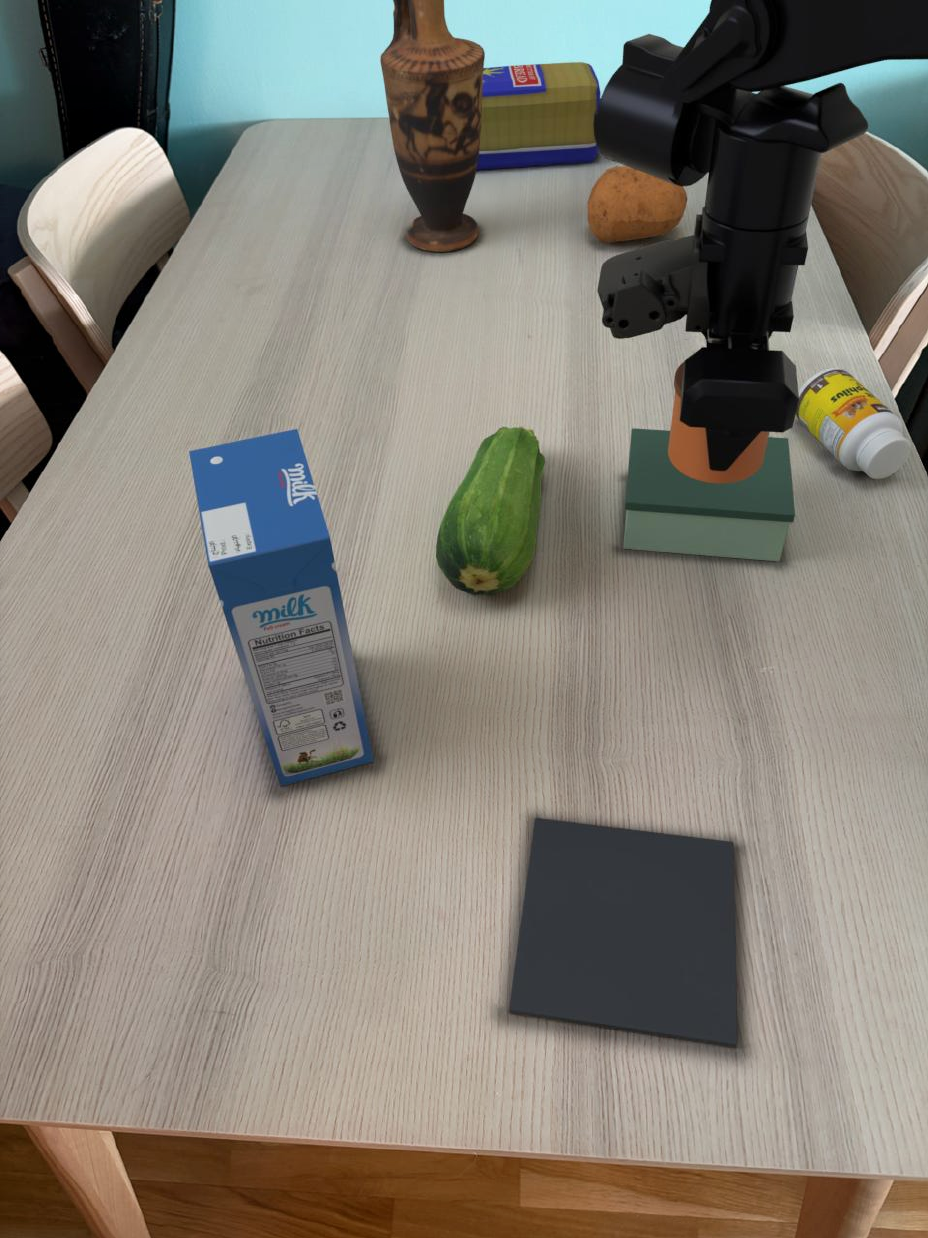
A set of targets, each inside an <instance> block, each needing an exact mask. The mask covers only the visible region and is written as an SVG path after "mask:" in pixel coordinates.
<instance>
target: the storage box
mask: <svg viewBox="0 0 928 1238" xmlns="http://www.w3.org/2000/svg"><path fill="white" fill-rule="evenodd" d="M669 438H670V430H667V429H666V430H664V429H648V428H631V433H630V443H629V444H630V445H629V454H628V466H627V478H626V479H627V480H626V489H625V499H624V500H625V502H624V510H625V511H626V512H625V523H624V535H623V550H634V551H644V552H645V551H647V552H656V553H657V552H658V553H659V552H660V553H668V554H669V553H671V554H681V555H682V554H683V555H692V556H693V555H694V556H695V555H696V556H706V557H720V558H729V559H730V558H731V559H743V560H744V559H745V560H755V561H756V560H757V561H766V562H767V561H768V562H769V561H770V562H780V561H781V558H782V554H783V549H784V546H785V542H786V538H787V536H788V531H789V528H790V523H794V522H795V518H796V508H795V497H794V496H795V495H794V485H793V474H792V465H791V463H792V462H791V454H790V444H789V441H790V440H789V438H788V437H775V436H769V437H768V442H767V446H766V451H765V456H764V460H763V464H762V466H761V468H760V469H759V470H758V471H757V472H756V473H755V474H754V475H752V476H750V477H749V478H746V479H744V480H741V481H737V482H732V483H708V482H703V481H699V480H696V479H693V478H691V477H689V476H687V475H685V474H683V473H681V472H680V471H679V470H678V469H676V467H675V466H674V465H673V464H672V463H671V461H670V459H669V455H668V446H669Z"/></svg>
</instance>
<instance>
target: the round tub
mask: <svg viewBox="0 0 928 1238" xmlns="http://www.w3.org/2000/svg"><path fill="white" fill-rule="evenodd" d="M684 362H685V360H684V361H683V362H682V363H680V365H679V366H678V367H677V369H676V371H675V373H674V378H673V387H674V397H673V398H674V399H673V400H674V401H673V407H672V413H671V422H670V429H669V431H670V438H669V446H668V455H669V459H670V461H671V463H672V464H673V465H674V466H675V467H676V469H678V470H679V471H680V472H681V473H683V474H685V475H687V476H689V477H691V478H693V479H696V480H699V481H703V482H708V483H732V482H737V481H741V480H744V479H746V478H749V477H750V476H752V475H754V474H755V473H756V472H757V471H758V470H759V469H760V468H761V466H762V464H763V460H764V456H765V451H766V446H767V442H768V437H770V432H764V431H762V432H761V433H760V434H759V435H758V436H757V437H756V438H755V439H754V440H753V441H752V442H751V444H750V445H749V446H748V447H747V448H746V449H745V450H744V452H743V453H742V454H741V455H740V456H739V457H738V458H737V460H736V461H735V462H734V463H733V464H732V465H731V466H730V468H729V469H728V470H727V471H712V470H710V468H709V458H708V448H707V438H706V428H698V427H689V426H687V425H686V424H684V423H683V422H681V421H680V402H681V389H682V378H683V370H684Z"/></svg>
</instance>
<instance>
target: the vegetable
mask: <svg viewBox="0 0 928 1238" xmlns="http://www.w3.org/2000/svg"><path fill="white" fill-rule="evenodd" d="M546 463H547V462H546V457H545V456H544V455H543V454H542V453H541V449H540V443H539V439H538V438H537V435H535V432H534V430H533V428H532V429H531V428H529V429H526V428H525V427H523V426H519V427H517V426H516V427H511V428H509V427H508V426H502V427H499V428H498V429H497V431H496V432H494V433H492V434H491V435H489V436H487V437H485V438H484V439H483V441H482V442H481V443H480V446H479V447H478V450H477V451H476V454H475V456H474V458H473V460H472V462H471V464H470V466H469V469H468V471H467V472H466V475H465V476H464V478H463V480H462V482H461V483H460V485H459V486H458V487H457V489H456V490H455V493H454V494H453V496H452V497H451V500H450V501H449V503H448V506H447V508H446V510H445V512H444V514H443V517H442V519H441V522H440V525H439V529H438V532H437V537H436V543H435V544H436V545H435V559H436V562H437V565H438V567H439V570H440V571H441V572H442V574H443V575H444V577H445V578H446V579H447V581H448V582H449V583H450V584H451V586H453V588H455V589H456V590H459V591H461V592H464V593H467V594H470V595H472V596H487V597H490V596H494V595H497V594H499V593H502V592H503V591H506V590H509V589H511V588H512V587H514V586H515V585H516V584H517V583H518V582H519V581H520V579H522V577H523V575H524V574H525V572H527V571H528V568H529V566H530V564H531V563H532V561H533V558H534V555H535V551H536V545H537V544H536V543H537V534H538V532H537V531H538V522H539V515H540V509H541V499H542V477H543V472H544V469H545V466H546Z"/></svg>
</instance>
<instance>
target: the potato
mask: <svg viewBox="0 0 928 1238" xmlns="http://www.w3.org/2000/svg"><path fill="white" fill-rule="evenodd" d="M586 203H587V205H586V207H587V223H588V228H589V230H590V232H591V234H592V235H593V236H594V237H595V238H596V239H597V240H598V241H599V242H602V243H603V242H604V243H617V242H625V241H632V240H641V239H647V238H653V237H656V236H657V237H658V236H662V235H666V234H668V233H671V231H673V230H674V229H675V228H676V227H677V226H679V225H680V222H681V220H682V218H683V217H684V214H685V212H686V207H687V203H688V195H687V190H686V189H685V186H683V187H682V186H679V185H675V184H673V183H670V182H667V181H665V180H662V179H660V178H657V177H654V176H652V175H649V174H646V173H644V172H641V171H639V170H636V169H633V168H631V167H628V166H625V165H623V166H622V165H621V166H613V167H610V168H607V170H605V171H604V172H603V173H602V174H601V175H600V177H598V178H597V180H596V181H595V183H594V185H593V186H592V188H591V189H590V192H589V197H588V200H587V202H586Z"/></svg>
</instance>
